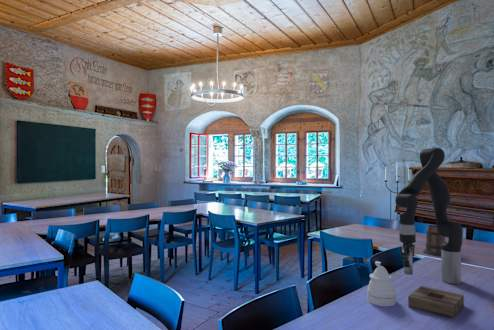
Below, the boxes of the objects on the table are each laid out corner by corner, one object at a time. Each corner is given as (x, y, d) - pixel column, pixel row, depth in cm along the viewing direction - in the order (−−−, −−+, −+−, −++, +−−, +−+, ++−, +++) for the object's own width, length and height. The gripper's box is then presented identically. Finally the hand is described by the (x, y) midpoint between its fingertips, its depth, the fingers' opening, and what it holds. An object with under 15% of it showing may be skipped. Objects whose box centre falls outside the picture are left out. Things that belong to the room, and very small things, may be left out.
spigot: (406, 271, 178) (405, 250, 178) (414, 273, 176) (413, 251, 176) (403, 273, 176) (402, 252, 176) (411, 275, 173) (410, 253, 173)
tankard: (442, 257, 237) (441, 228, 237) (418, 253, 251) (417, 225, 251) (457, 252, 251) (457, 225, 251) (434, 248, 265) (433, 222, 265)
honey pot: (361, 298, 167) (360, 261, 167) (381, 294, 172) (380, 258, 173) (381, 308, 156) (380, 268, 156) (402, 303, 161) (401, 264, 161)
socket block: (421, 295, 169) (421, 285, 169) (463, 305, 157) (463, 294, 157) (408, 306, 156) (408, 295, 156) (453, 318, 144) (453, 306, 144)
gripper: (404, 229, 183) (405, 261, 183) (394, 234, 173) (395, 268, 173) (419, 231, 178) (420, 264, 178) (410, 236, 168) (411, 271, 168)
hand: (408, 266), depth 176 cm, fingers closed on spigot, 4 cm apart
